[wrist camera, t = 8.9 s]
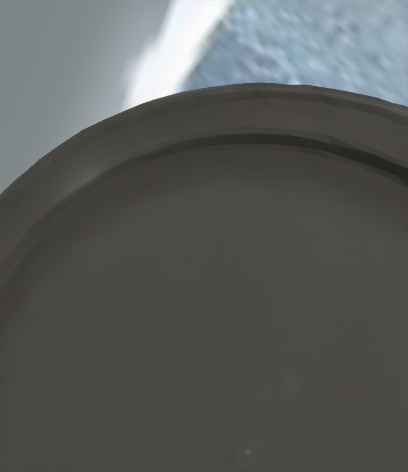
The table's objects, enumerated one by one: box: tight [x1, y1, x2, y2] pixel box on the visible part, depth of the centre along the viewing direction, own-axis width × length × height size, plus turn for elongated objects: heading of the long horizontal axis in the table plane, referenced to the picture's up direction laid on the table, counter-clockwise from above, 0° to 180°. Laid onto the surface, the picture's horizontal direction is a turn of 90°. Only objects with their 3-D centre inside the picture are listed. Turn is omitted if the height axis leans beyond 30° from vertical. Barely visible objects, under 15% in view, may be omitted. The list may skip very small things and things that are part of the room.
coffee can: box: [0, 83, 408, 472], centre depth 11 cm, size 10×10×14 cm
